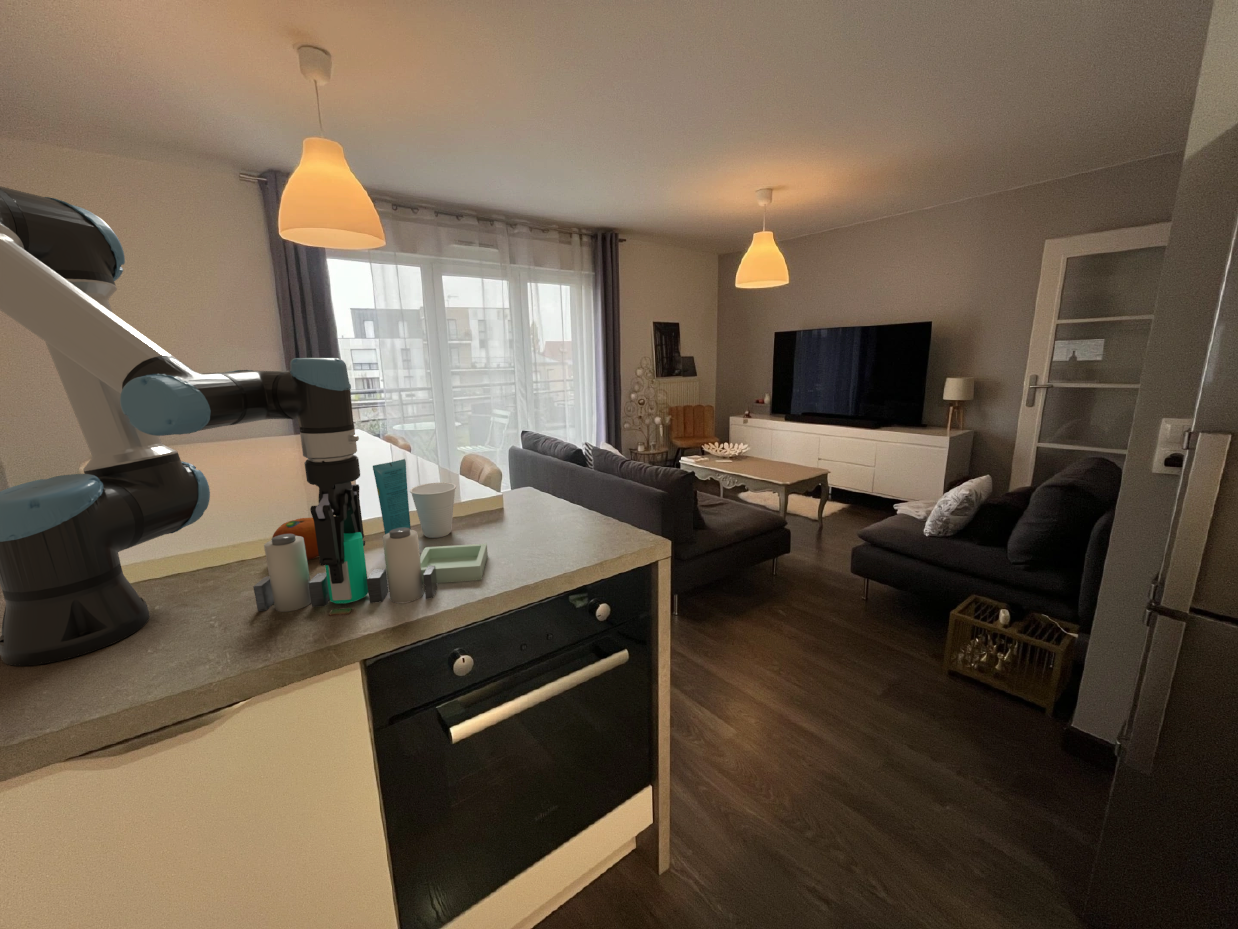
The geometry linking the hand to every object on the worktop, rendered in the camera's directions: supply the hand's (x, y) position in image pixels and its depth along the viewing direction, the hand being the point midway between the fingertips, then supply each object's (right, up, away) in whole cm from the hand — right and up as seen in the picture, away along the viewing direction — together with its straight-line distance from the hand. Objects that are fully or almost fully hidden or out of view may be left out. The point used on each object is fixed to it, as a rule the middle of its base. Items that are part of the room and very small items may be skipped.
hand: (349, 590), depth 84 cm
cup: (+4, +5, +31) cm, 32 cm away
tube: (-1, +3, +21) cm, 22 cm away
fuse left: (-9, -2, -1) cm, 9 cm away
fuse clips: (0, -2, -1) cm, 2 cm away
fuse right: (+9, -1, +2) cm, 9 cm away
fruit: (-19, +2, +18) cm, 26 cm away
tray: (+14, +1, +12) cm, 18 cm away
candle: (0, -1, 0) cm, 1 cm away
